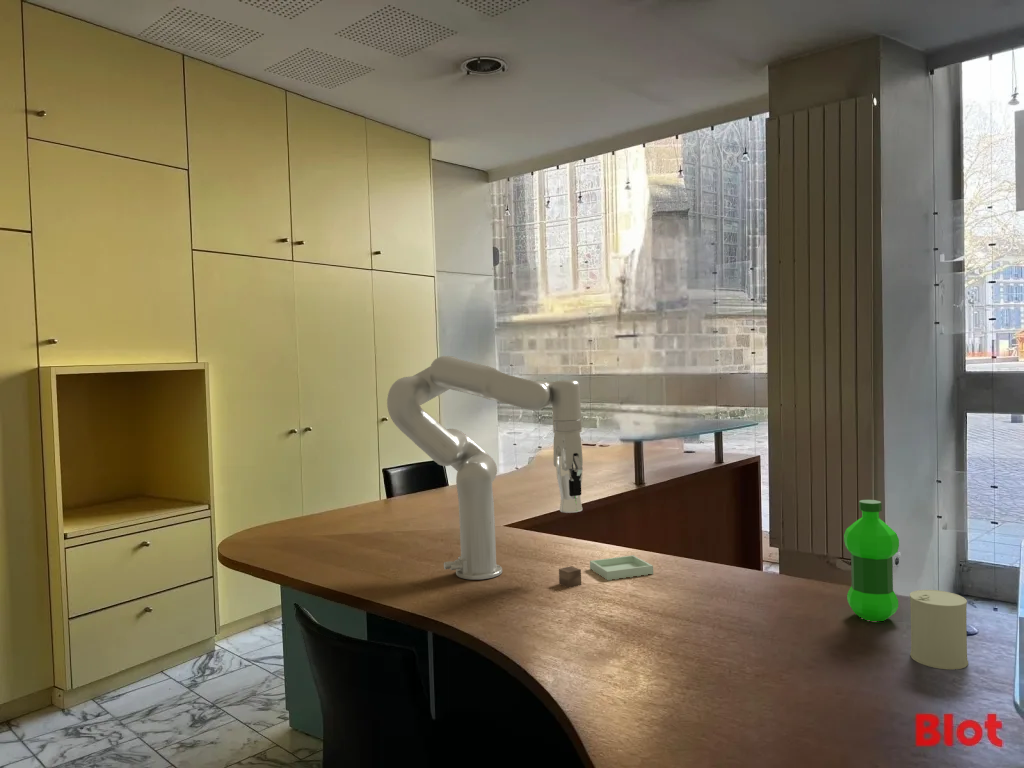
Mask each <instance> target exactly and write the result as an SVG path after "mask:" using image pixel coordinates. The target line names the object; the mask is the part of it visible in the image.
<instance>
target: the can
mask: <svg viewBox="0 0 1024 768" xmlns="http://www.w3.org/2000/svg"><path fill="white" fill-rule="evenodd" d="M909 602H910V641H911V642H910V657H911V659H912V660H913V661H915V662H917V663H918V664H921V665H923V666H926V667H929V668H934V669H939V670H945V671H946V670H947V671H948V670H949V671H950V670H951V671H952V670H955V669H956V670H961V669H965V668H967V666H968V665H969V660H968V644H967V643H968V642H967V638H968V634H967V607H968V606H967V604H968V600H967V599H966V598H965V597H964V596H962V595H959V594H957V593H955V592H950V591H944V590H937V589H919V590H918V589H917V590H913V591H911V592H910V593H909ZM956 670H955V671H956Z"/></svg>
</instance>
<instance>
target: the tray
mask: <svg viewBox="0 0 1024 768" xmlns="http://www.w3.org/2000/svg"><path fill="white" fill-rule="evenodd" d="M589 569H590V570H591V569H592V570H593V571H592V570H591V571H592V572H594V571H595V572H596V573H595V572H594V573H595V574H597V573H598V574H599V575H598V574H597V575H598V576H600V575H601V576H602V578H603V577H604V578H605V579H604V578H603V579H604V580H606V579H607V580H608V581H613V580H612V579H615V580H620V579H619V578H623V579H627V578H626V577H630V578H634V577H633V576H637V577H642V576H641V575H644V576H649V575H648V574H652V575H654V565H652V564H651V563H649V562H647V561H645V560H644V559H641V558H639V557H638V556H636V555H634V554H633V555H623V556H616V557H615V556H614V557H611V558H610V557H609V558H599V559H595V560H594V559H593V560H589ZM601 576H600V577H601ZM607 580H606V581H607Z"/></svg>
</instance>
